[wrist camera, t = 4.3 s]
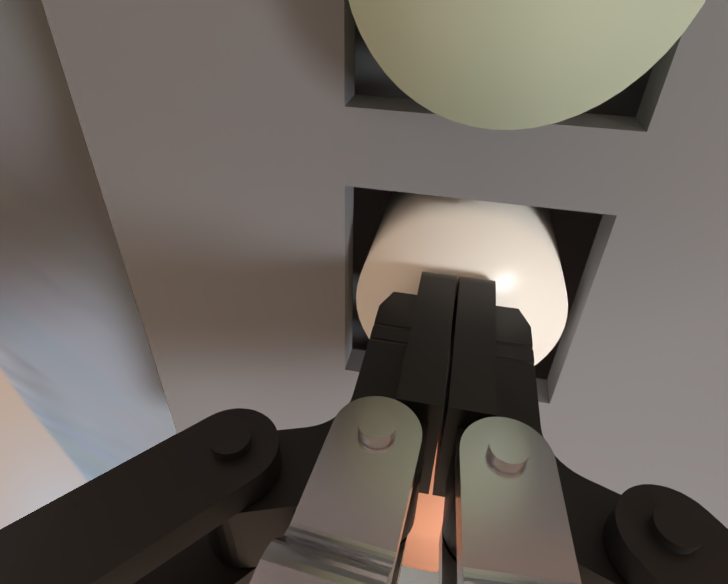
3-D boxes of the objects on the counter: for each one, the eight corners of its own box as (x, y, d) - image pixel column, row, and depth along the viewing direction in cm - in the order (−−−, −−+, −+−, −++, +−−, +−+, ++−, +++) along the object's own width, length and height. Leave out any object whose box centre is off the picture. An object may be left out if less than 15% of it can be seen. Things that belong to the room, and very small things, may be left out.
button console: (1124, -389, 7) (1868, -762, 3) (634, 468, 20) (668, 604, 16) (129, -332, 10) (-119, -509, 6) (251, 399, 22) (198, 501, 18)
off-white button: (569, 153, 12) (595, 233, 9) (530, 298, 15) (540, 399, 12) (390, 137, 13) (357, 206, 10) (383, 278, 15) (355, 368, 12)
